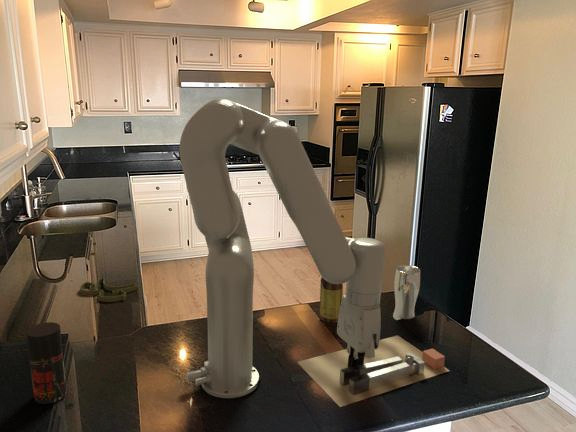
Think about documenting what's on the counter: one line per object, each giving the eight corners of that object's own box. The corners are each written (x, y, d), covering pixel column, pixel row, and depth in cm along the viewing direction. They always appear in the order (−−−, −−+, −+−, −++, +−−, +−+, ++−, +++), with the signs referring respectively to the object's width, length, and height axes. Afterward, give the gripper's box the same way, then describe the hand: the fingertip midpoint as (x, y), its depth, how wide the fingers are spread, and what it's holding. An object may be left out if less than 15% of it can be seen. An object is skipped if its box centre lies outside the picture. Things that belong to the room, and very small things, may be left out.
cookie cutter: (143, 290, 149) (143, 285, 149) (118, 305, 138) (118, 299, 138) (97, 282, 155) (96, 276, 154) (70, 296, 144) (69, 290, 143)
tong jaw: (397, 368, 107) (398, 356, 106) (401, 371, 105) (402, 359, 105) (339, 381, 101) (340, 369, 100) (343, 385, 100) (344, 373, 99)
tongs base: (409, 363, 109) (411, 350, 108) (423, 374, 105) (425, 359, 104) (341, 384, 100) (342, 369, 99) (354, 396, 96) (355, 381, 95)
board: (339, 412, 93) (340, 406, 93) (296, 366, 109) (296, 362, 108) (449, 375, 107) (449, 370, 106) (397, 339, 122) (397, 335, 122)
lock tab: (431, 357, 111) (432, 348, 111) (443, 366, 108) (445, 356, 107) (421, 360, 110) (422, 351, 110) (434, 369, 107) (435, 359, 106)
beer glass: (386, 314, 136) (390, 266, 133) (406, 311, 139) (411, 263, 135) (400, 325, 130) (405, 274, 126) (421, 321, 133) (426, 272, 129)
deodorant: (30, 395, 96) (22, 328, 92) (60, 383, 100) (53, 319, 96) (40, 408, 92) (31, 340, 88) (71, 396, 96) (64, 329, 92)
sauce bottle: (327, 312, 137) (330, 247, 132) (345, 319, 133) (349, 252, 128) (314, 320, 132) (317, 253, 127) (332, 327, 128) (336, 258, 123)
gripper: (329, 285, 105) (323, 357, 109) (370, 312, 92) (361, 393, 97) (356, 280, 109) (349, 351, 113) (399, 306, 96) (389, 385, 100)
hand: (354, 370), depth 105 cm, fingers closed
